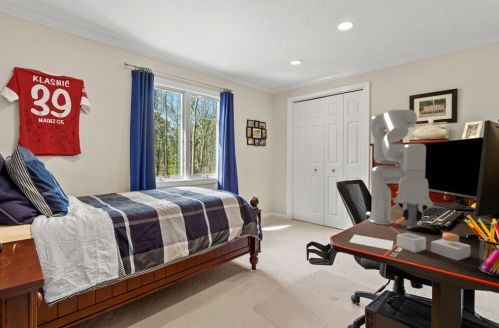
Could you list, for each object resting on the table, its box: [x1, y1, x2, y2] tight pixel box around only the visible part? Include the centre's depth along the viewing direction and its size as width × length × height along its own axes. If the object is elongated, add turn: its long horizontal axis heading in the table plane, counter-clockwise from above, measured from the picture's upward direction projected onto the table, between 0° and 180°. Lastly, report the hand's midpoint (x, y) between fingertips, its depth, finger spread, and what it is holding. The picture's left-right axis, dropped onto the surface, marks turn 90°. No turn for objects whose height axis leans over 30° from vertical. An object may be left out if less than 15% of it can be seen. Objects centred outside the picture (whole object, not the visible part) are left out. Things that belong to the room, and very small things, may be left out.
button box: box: [430, 238, 472, 261], centre depth 97 cm, size 9×9×4 cm
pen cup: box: [396, 232, 427, 254], centre depth 103 cm, size 7×7×5 cm
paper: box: [348, 234, 394, 251], centre depth 110 cm, size 16×12×1 cm
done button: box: [441, 232, 460, 243], centre depth 97 cm, size 5×5×2 cm
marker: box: [406, 203, 419, 228], centre depth 102 cm, size 4×4×11 cm
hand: (412, 219), depth 102 cm, fingers closed on marker, 3 cm apart
